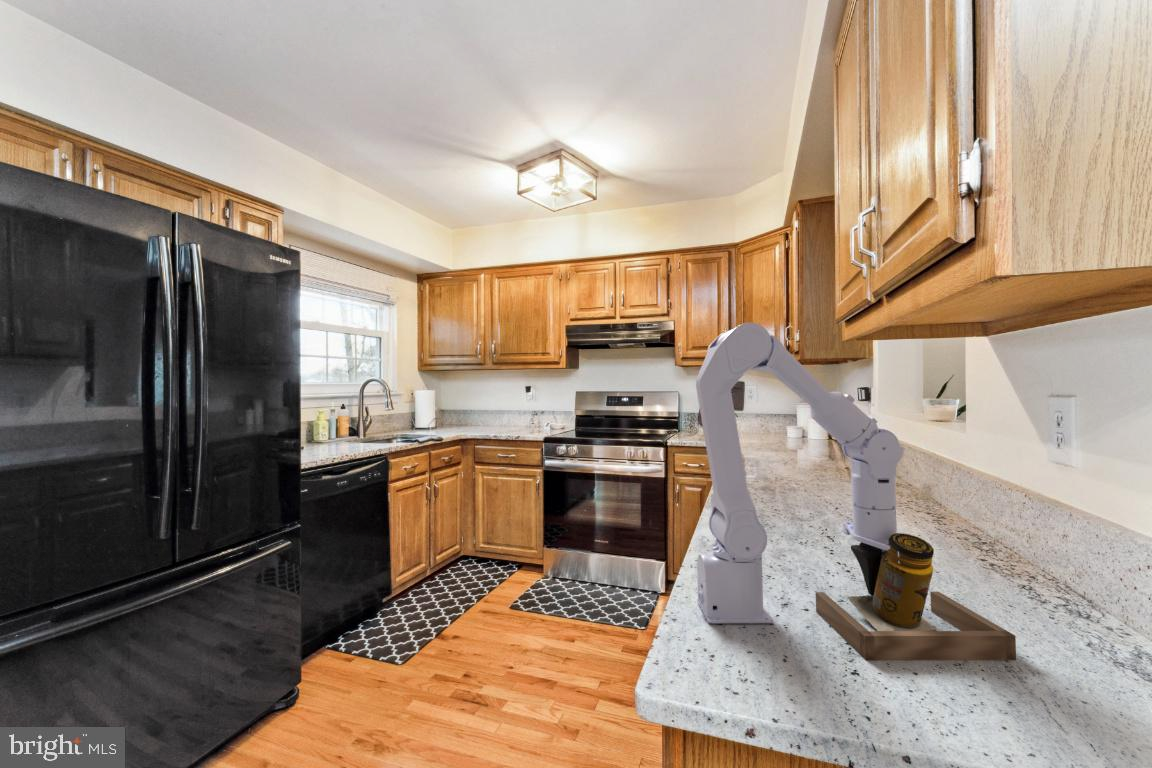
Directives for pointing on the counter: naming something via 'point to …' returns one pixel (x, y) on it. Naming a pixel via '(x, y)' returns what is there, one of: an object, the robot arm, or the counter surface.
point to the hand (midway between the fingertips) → (876, 594)
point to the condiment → (900, 586)
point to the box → (924, 635)
